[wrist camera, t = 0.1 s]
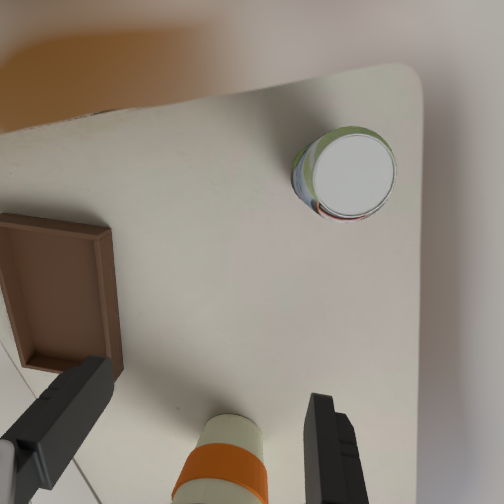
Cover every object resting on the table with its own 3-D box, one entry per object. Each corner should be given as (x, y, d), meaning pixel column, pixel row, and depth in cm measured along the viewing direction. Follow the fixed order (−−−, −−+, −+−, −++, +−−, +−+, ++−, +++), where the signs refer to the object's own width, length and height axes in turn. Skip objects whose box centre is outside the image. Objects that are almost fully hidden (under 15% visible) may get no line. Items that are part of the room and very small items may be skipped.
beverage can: (282, 192, 31) (276, 230, 20) (308, 116, 28) (319, 110, 17) (341, 212, 31) (369, 260, 20) (374, 137, 28) (427, 146, 17)
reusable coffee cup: (266, 402, 42) (253, 537, 28) (281, 463, 47) (277, 604, 33) (182, 406, 44) (132, 533, 31) (204, 463, 49) (169, 596, 35)
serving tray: (3, 212, 36) (-18, 218, 33) (111, 227, 35) (97, 235, 32) (36, 354, 44) (21, 367, 42) (123, 369, 43) (114, 383, 41)
